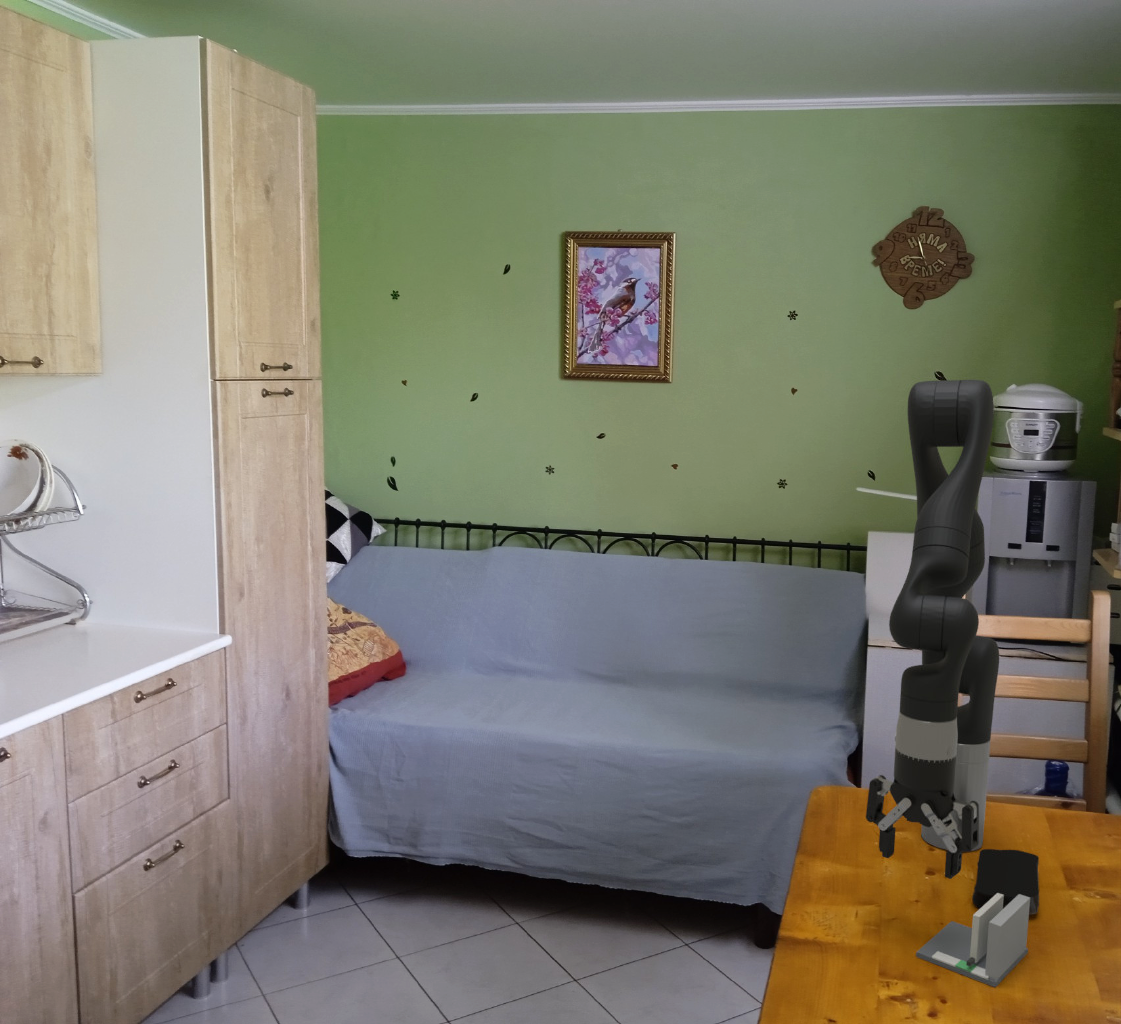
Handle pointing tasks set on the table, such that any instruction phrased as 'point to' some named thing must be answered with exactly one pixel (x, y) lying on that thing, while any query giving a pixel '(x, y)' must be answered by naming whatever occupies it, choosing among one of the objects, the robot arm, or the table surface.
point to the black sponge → (1007, 877)
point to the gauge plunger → (983, 927)
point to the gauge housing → (1001, 948)
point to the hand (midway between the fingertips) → (918, 865)
